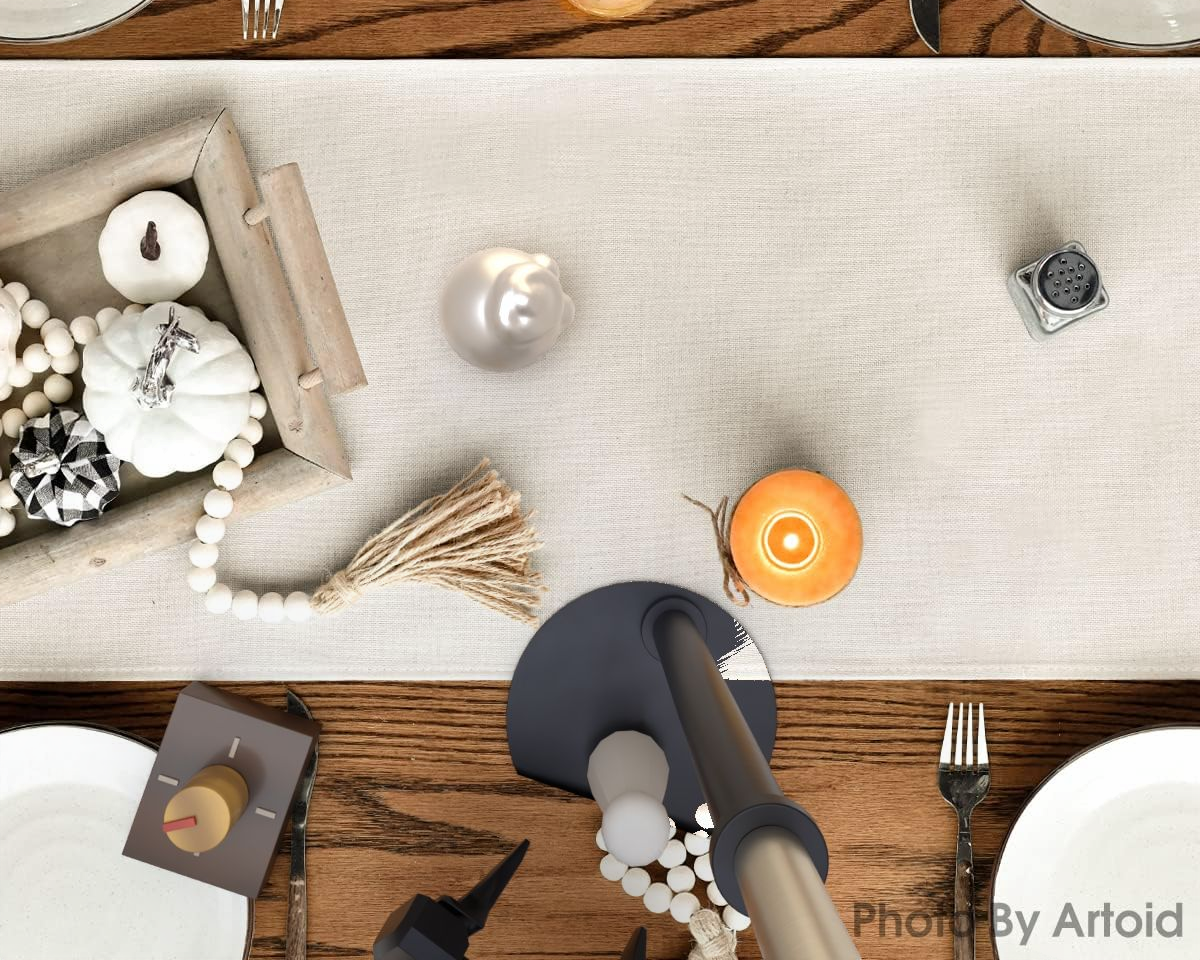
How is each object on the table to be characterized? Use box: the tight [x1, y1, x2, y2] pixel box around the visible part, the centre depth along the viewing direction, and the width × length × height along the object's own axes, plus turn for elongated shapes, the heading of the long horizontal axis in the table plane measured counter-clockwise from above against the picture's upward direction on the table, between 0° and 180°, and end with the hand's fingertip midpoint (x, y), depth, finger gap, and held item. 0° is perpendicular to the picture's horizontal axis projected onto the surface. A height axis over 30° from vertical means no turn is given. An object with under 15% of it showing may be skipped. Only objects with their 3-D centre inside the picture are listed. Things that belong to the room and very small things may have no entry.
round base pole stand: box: [505, 580, 863, 960], centre depth 52 cm, size 20×20×50 cm
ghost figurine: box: [437, 246, 576, 374], centre depth 73 cm, size 9×10×10 cm
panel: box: [121, 680, 324, 901], centre depth 75 cm, size 12×10×3 cm
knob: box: [163, 765, 248, 853], centre depth 71 cm, size 4×4×4 cm
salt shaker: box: [587, 731, 672, 868], centre depth 70 cm, size 6×6×13 cm
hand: (583, 884), depth 66 cm, fingers open, 9 cm apart
